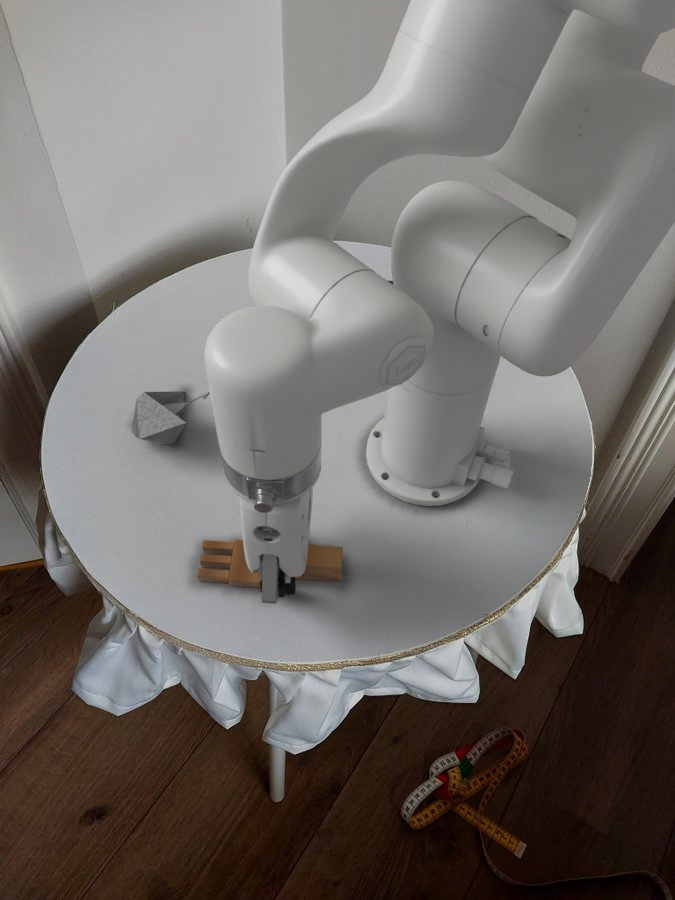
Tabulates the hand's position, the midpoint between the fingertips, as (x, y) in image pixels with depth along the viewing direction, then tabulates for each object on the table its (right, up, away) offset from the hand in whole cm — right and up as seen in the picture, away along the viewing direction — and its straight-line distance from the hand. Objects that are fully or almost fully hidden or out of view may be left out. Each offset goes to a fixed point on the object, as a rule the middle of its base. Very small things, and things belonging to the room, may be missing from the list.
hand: (281, 565), depth 69 cm
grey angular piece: (-12, +13, +10) cm, 20 cm away
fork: (-1, 0, 0) cm, 1 cm away
